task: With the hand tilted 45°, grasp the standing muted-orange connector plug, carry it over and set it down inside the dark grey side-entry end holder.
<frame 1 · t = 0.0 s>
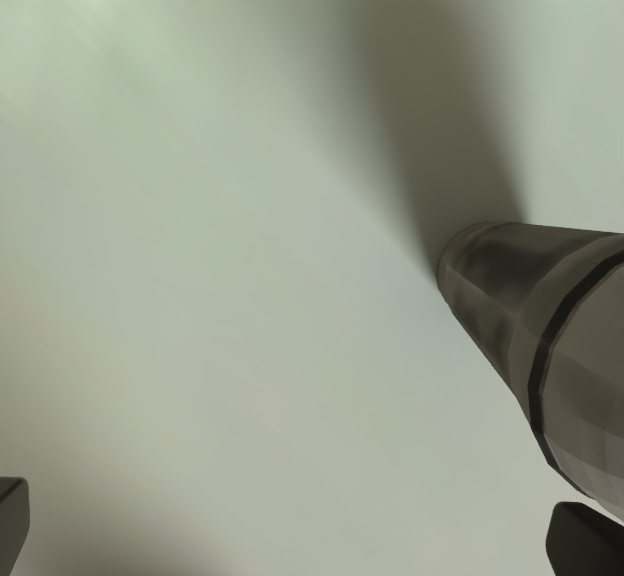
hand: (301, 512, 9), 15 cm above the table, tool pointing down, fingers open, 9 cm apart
beverage cup: (484, 270, 23), on the table
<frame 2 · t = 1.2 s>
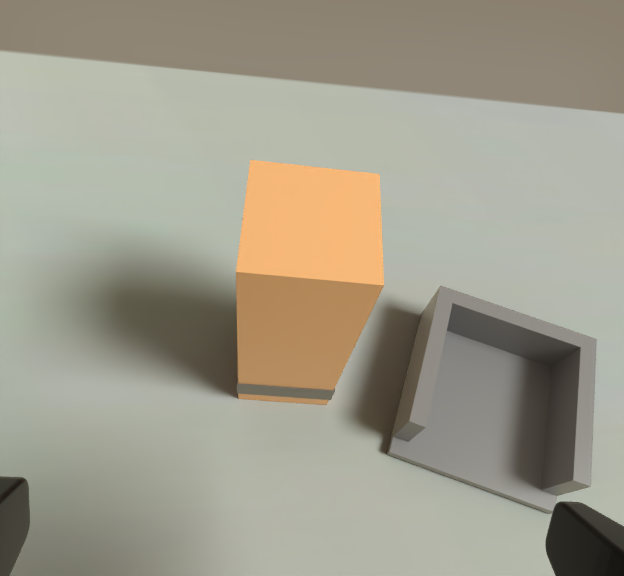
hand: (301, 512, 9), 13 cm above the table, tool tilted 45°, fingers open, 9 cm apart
holder: (479, 405, 24), on the table
plug: (285, 360, 24), on the table
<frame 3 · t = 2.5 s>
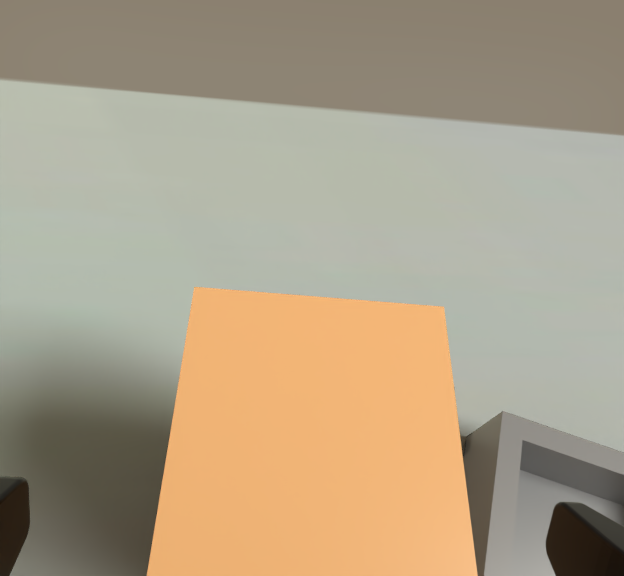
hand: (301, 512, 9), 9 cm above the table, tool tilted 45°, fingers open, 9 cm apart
plug: (274, 521, 16), on the table
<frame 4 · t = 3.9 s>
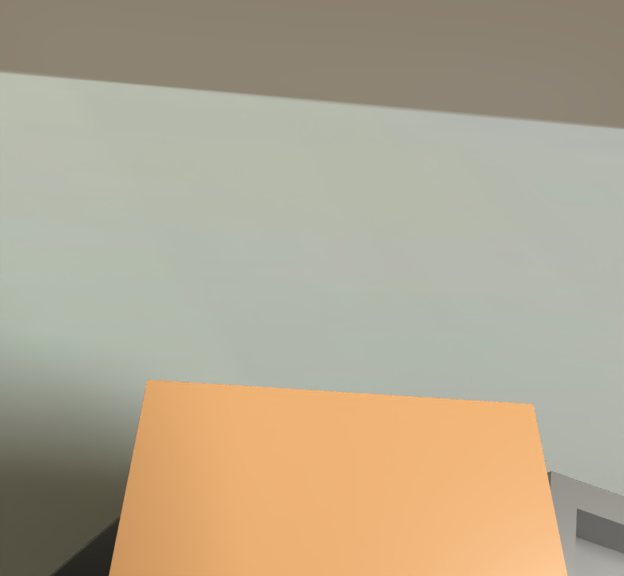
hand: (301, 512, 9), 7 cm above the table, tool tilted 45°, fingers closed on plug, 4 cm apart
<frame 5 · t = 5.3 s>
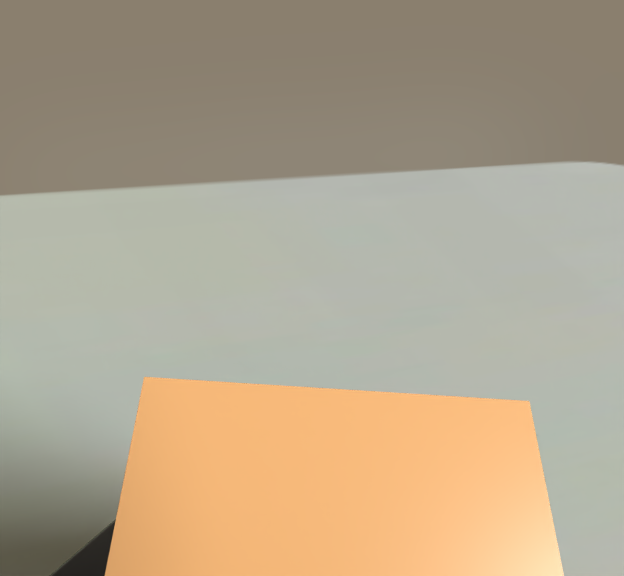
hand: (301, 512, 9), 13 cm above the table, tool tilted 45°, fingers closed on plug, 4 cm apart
when the fingers open (8 cm above the table, at t = 7.0 s): plug drops 1 cm, resting on holder.
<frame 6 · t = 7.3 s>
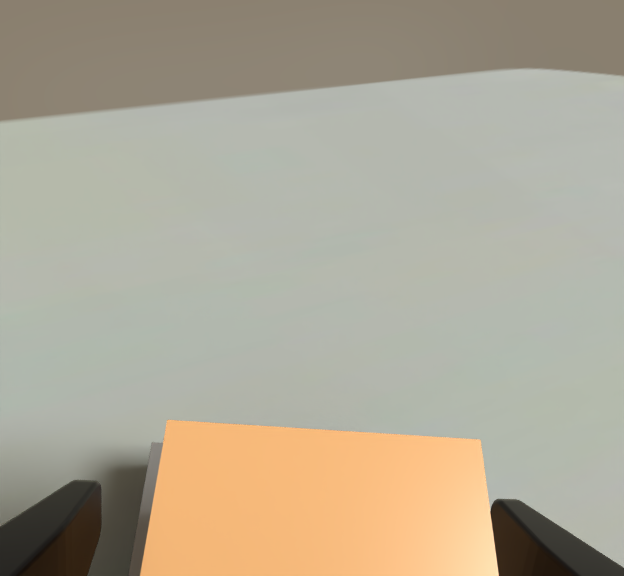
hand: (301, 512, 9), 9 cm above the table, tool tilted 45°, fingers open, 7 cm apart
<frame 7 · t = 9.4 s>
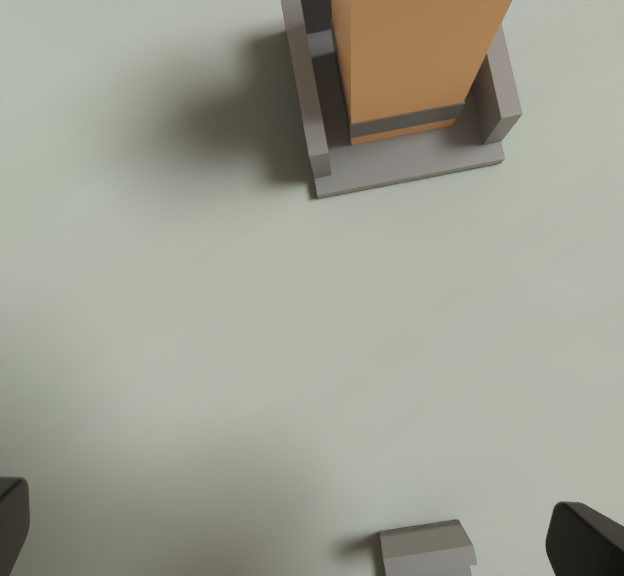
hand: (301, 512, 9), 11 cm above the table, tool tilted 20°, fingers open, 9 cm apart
holder: (391, 94, 21), on the table
plug: (392, 88, 21), resting on holder
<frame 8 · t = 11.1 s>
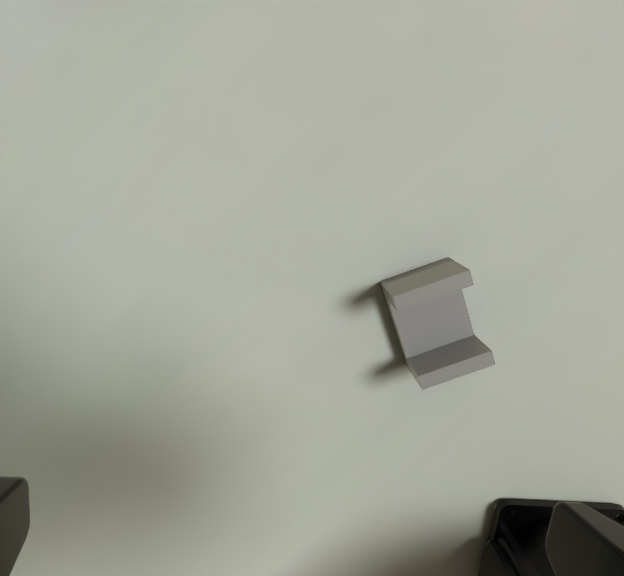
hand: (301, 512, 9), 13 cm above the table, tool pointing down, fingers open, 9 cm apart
clip: (427, 312, 22), on the table
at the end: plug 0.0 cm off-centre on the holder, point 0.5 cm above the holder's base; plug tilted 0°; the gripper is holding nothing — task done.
